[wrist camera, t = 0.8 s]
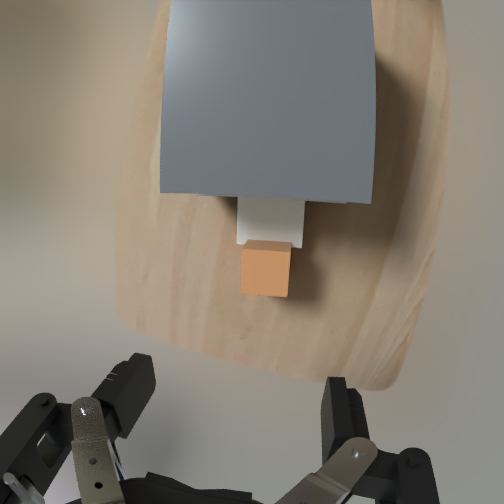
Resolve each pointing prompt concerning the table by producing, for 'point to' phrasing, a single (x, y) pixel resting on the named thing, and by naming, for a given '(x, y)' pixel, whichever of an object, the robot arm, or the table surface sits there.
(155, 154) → the table surface
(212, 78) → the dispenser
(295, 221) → the white and orange bar
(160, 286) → the table surface
